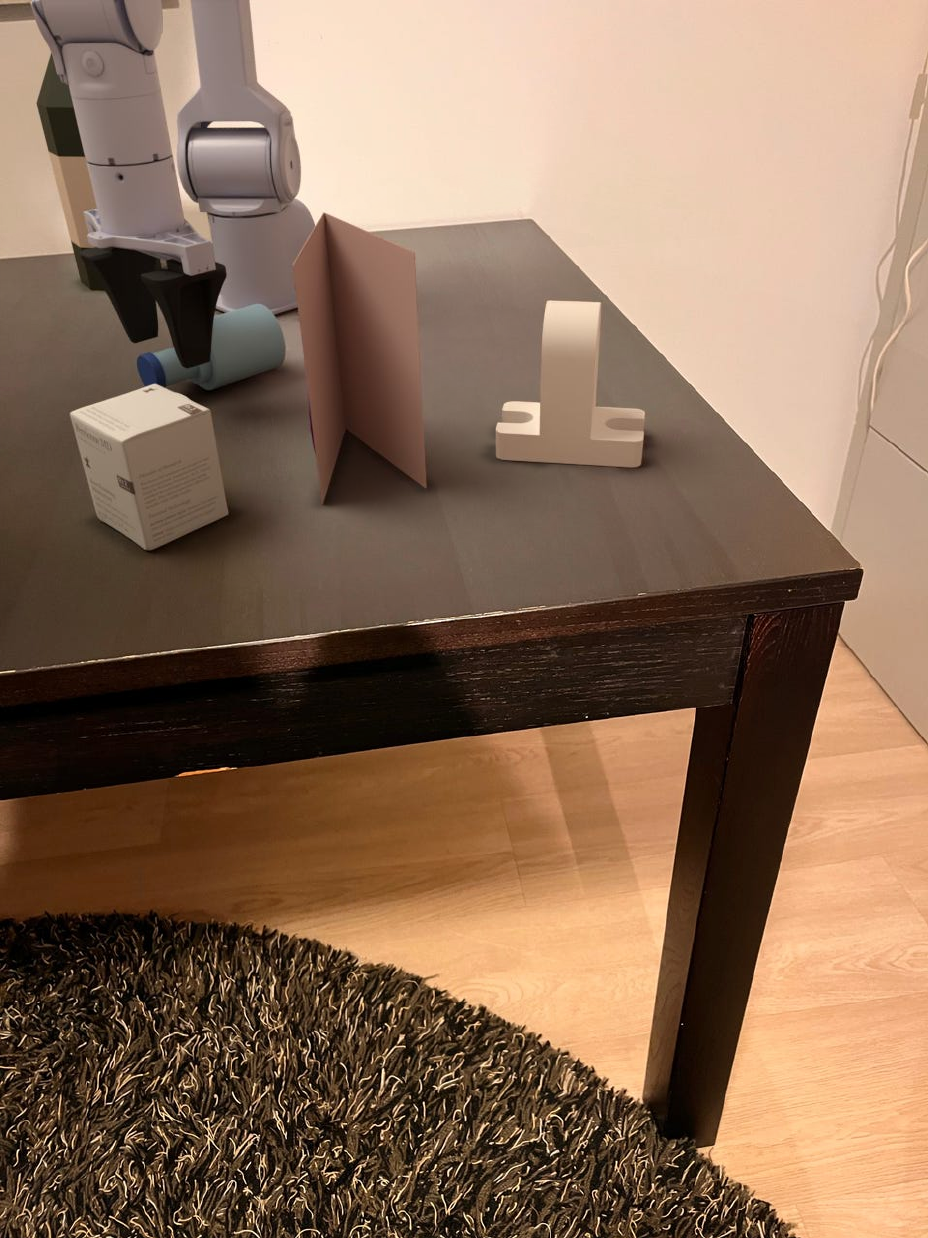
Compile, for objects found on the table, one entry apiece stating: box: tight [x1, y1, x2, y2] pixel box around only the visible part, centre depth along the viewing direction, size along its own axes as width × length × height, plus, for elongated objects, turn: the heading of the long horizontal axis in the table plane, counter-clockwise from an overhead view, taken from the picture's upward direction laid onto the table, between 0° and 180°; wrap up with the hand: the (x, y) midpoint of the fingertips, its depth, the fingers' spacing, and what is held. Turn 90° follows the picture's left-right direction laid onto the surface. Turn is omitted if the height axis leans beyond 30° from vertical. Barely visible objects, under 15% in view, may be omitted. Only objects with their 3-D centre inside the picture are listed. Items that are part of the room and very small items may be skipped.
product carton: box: [69, 384, 229, 551], centre depth 59 cm, size 6×6×7 cm
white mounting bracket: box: [495, 300, 646, 468], centre depth 65 cm, size 5×10×10 cm, turn 80°
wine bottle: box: [36, 52, 163, 291], centre depth 94 cm, size 8×8×30 cm
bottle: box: [136, 304, 287, 391], centre depth 77 cm, size 5×5×11 cm
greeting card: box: [293, 212, 427, 505], centre depth 62 cm, size 11×7×15 cm, turn 178°
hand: (169, 351), depth 74 cm, fingers open, 7 cm apart
